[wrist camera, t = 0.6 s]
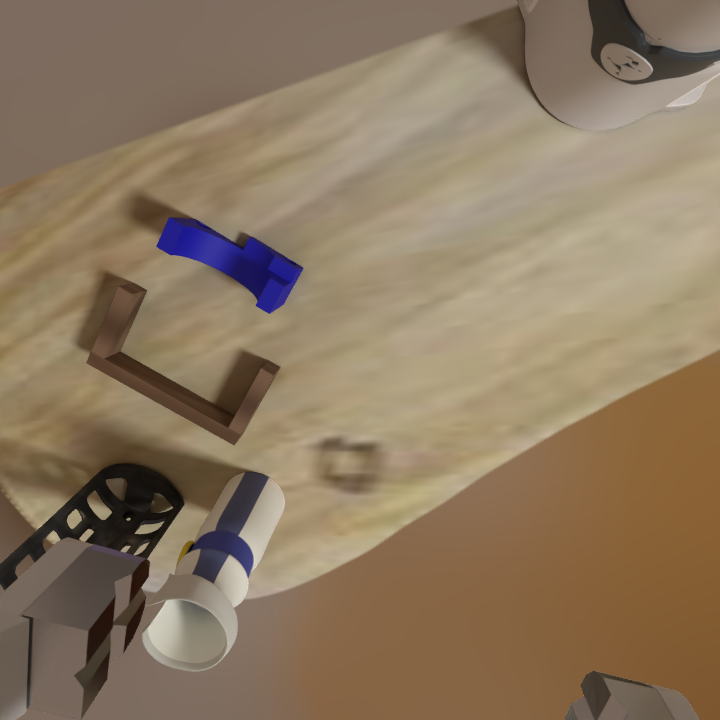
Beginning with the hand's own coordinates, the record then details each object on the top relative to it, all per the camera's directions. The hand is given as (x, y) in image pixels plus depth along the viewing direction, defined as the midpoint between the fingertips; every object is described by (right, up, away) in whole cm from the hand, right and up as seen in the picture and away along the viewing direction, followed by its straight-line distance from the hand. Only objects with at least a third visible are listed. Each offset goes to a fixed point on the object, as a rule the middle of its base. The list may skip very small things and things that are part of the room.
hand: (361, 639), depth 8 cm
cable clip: (-12, +16, +40) cm, 45 cm away
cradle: (-19, +6, +43) cm, 47 cm away
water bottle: (-13, -12, +48) cm, 51 cm away
